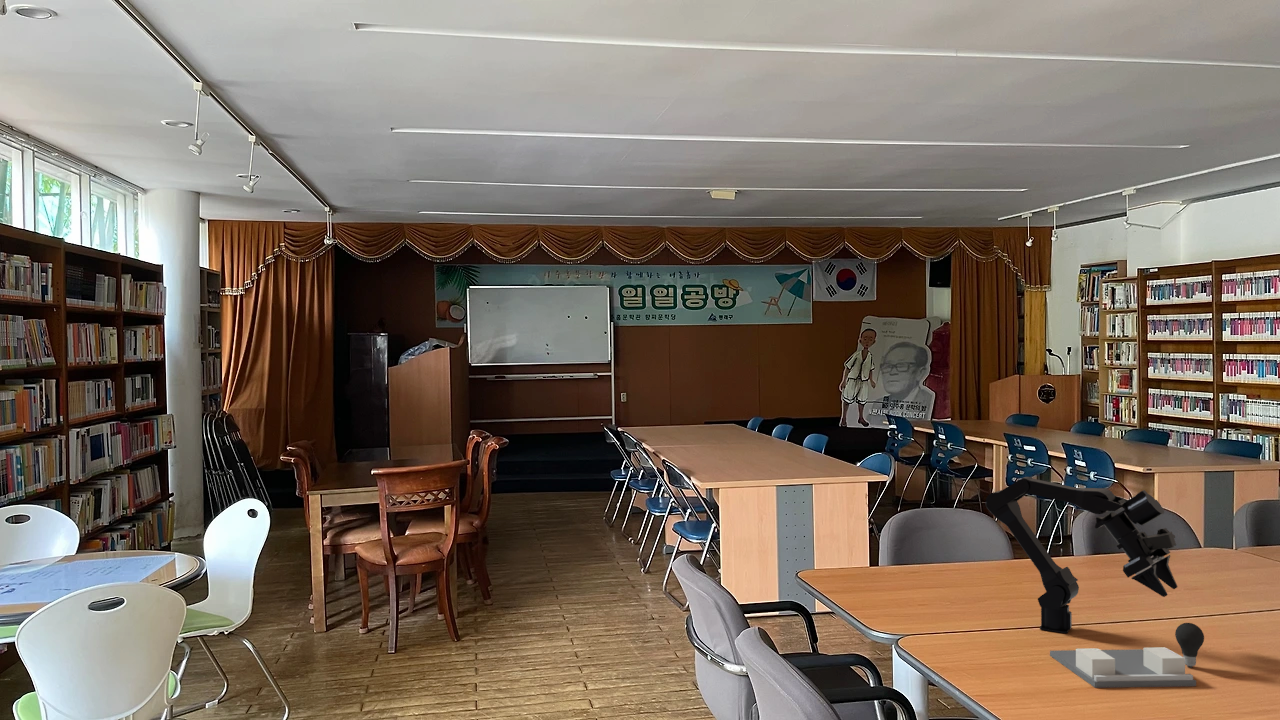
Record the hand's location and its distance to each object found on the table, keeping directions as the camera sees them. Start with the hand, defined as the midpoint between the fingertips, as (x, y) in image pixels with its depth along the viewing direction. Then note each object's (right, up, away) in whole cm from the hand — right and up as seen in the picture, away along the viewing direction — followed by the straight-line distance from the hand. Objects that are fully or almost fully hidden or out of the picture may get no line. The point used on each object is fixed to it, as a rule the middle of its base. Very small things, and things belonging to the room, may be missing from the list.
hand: (1170, 592), depth 211 cm
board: (-18, -15, -11) cm, 26 cm away
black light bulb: (-1, -15, -10) cm, 18 cm away
